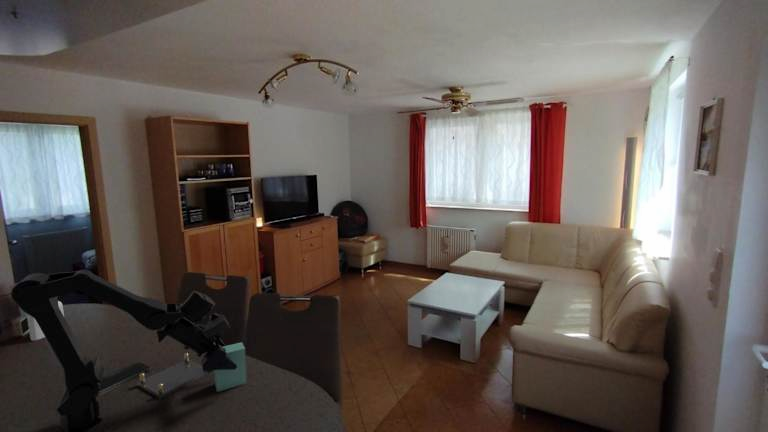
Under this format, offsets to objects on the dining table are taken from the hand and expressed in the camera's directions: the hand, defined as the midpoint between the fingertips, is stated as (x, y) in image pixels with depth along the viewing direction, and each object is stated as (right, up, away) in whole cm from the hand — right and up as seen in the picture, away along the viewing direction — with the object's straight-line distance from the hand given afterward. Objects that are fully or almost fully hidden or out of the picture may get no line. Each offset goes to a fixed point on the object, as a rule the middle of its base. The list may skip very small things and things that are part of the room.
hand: (233, 360), depth 106 cm
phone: (-35, -7, +2) cm, 36 cm away
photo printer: (-81, -2, +29) cm, 86 cm away
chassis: (-19, -6, +2) cm, 20 cm away
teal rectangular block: (-1, -7, 0) cm, 7 cm away
